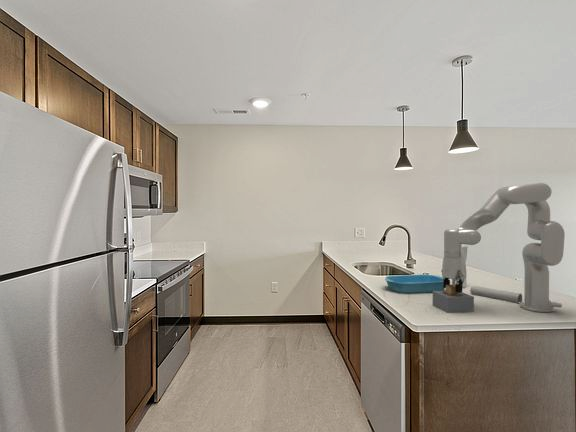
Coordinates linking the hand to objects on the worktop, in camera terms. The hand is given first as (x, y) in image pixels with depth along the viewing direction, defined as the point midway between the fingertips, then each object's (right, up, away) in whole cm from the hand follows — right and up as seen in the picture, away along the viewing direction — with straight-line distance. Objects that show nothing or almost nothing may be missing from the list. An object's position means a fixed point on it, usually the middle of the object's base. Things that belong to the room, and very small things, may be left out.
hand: (452, 290), depth 163 cm
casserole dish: (-3, -9, +40) cm, 41 cm away
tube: (+32, -9, +19) cm, 38 cm away
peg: (0, -8, 0) cm, 8 cm away
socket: (0, -9, 0) cm, 9 cm away
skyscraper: (+28, -9, +47) cm, 55 cm away
